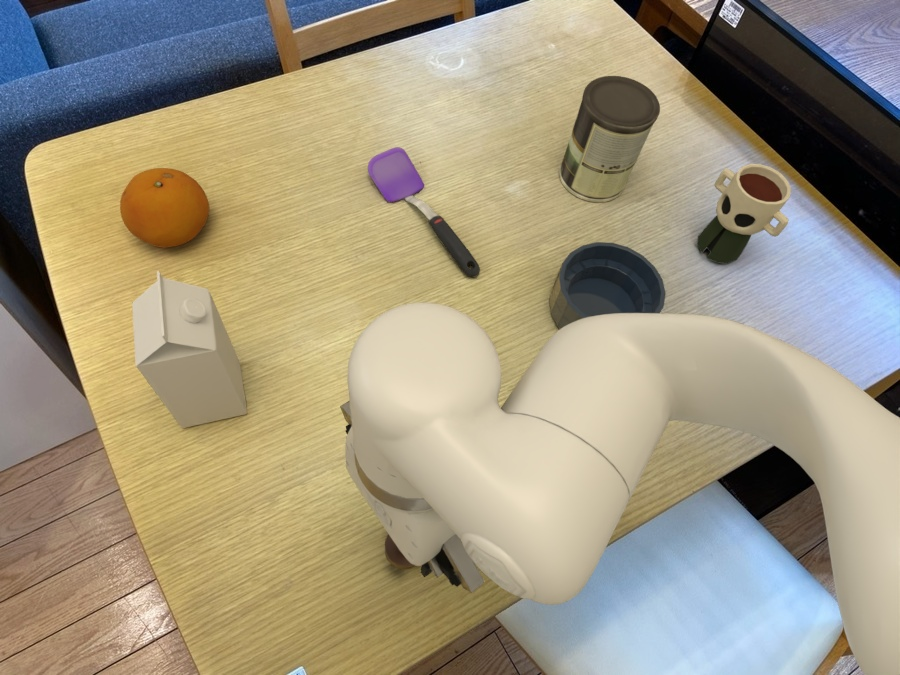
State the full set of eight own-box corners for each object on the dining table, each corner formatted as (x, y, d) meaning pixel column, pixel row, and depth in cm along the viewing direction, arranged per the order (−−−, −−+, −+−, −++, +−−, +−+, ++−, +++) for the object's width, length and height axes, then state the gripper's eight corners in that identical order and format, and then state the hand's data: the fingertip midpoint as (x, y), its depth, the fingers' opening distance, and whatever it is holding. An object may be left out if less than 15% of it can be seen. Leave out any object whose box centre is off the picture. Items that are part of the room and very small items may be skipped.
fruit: (231, 214, 85) (217, 171, 78) (182, 270, 80) (163, 228, 73) (166, 186, 87) (148, 142, 80) (115, 239, 81) (90, 196, 75)
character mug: (672, 233, 90) (712, 166, 79) (705, 213, 93) (748, 146, 82) (729, 285, 86) (779, 223, 75) (761, 263, 89) (815, 200, 78)
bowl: (668, 322, 82) (687, 296, 77) (597, 372, 78) (612, 349, 72) (599, 255, 87) (612, 226, 82) (528, 298, 82) (537, 271, 77)
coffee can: (544, 172, 94) (567, 93, 82) (590, 144, 98) (619, 65, 86) (593, 214, 91) (625, 138, 79) (639, 183, 95) (676, 107, 83)
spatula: (495, 268, 84) (498, 257, 82) (453, 290, 82) (455, 279, 80) (401, 156, 93) (401, 144, 91) (361, 173, 91) (360, 160, 89)
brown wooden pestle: (431, 553, 65) (441, 519, 53) (399, 577, 63) (402, 547, 51) (409, 522, 66) (413, 481, 54) (377, 544, 65) (375, 508, 53)
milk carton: (182, 429, 69) (118, 344, 53) (177, 374, 73) (116, 277, 56) (247, 415, 71) (206, 327, 54) (240, 361, 74) (198, 263, 58)
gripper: (291, 376, 41) (314, 461, 56) (448, 605, 35) (427, 632, 50) (386, 322, 44) (384, 416, 59) (547, 526, 38) (499, 574, 53)
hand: (404, 516), depth 54 cm, fingers open, 9 cm apart
